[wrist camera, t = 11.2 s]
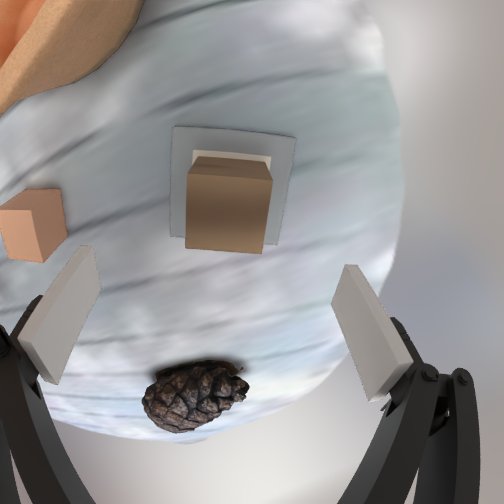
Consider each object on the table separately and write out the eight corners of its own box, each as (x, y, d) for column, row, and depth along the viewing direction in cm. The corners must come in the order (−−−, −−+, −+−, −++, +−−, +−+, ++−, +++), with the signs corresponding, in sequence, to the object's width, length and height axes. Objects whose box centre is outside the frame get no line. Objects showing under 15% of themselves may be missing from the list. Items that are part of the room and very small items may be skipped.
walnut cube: (256, 221, 27) (261, 254, 22) (194, 216, 27) (185, 248, 22) (264, 161, 24) (273, 180, 19) (198, 156, 24) (187, 173, 18)
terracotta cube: (68, 235, 28) (43, 263, 23) (34, 233, 27) (8, 258, 22) (60, 188, 25) (30, 210, 20) (25, 189, 24) (-5, 209, 19)
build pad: (276, 240, 30) (277, 245, 29) (172, 232, 29) (170, 236, 28) (294, 137, 24) (296, 139, 23) (175, 126, 23) (172, 127, 22)
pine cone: (256, 370, 42) (261, 425, 34) (178, 399, 47) (174, 444, 38) (215, 337, 37) (212, 399, 29) (137, 373, 42) (126, 422, 33)
